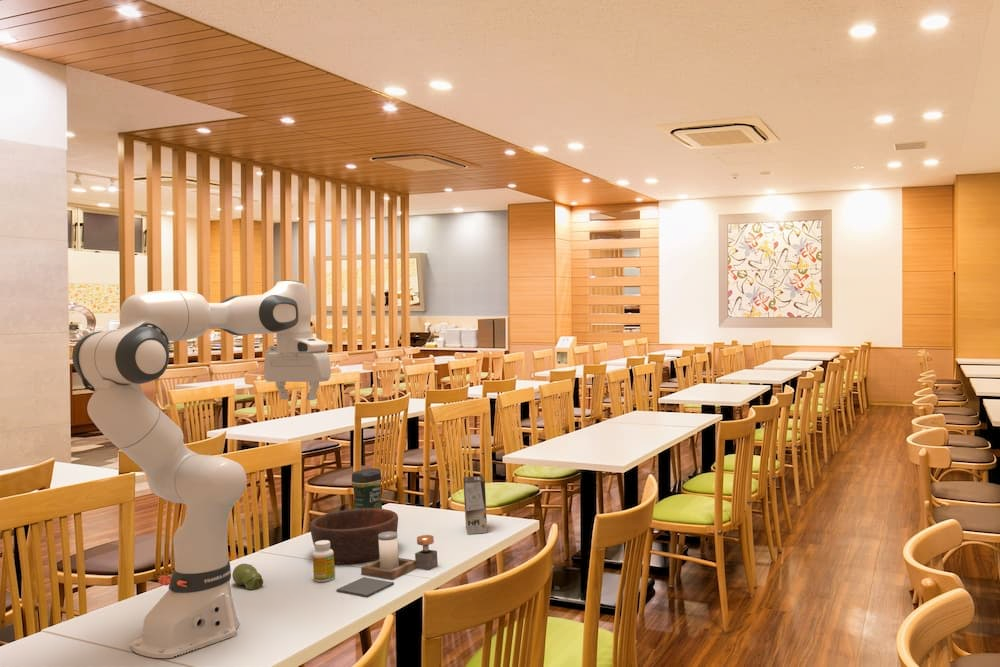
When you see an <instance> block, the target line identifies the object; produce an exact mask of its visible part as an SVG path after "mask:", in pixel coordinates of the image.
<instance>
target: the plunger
mask: <svg viewBox="0 0 1000 667" xmlns="http://www.w3.org/2000/svg"><path fill="white" fill-rule="evenodd" d="M416 543H417V545H419V546H422V550H423V554H428V553H429V550H430V545H433V544H434V543H435V540H434V535H432V534H431V535H430V534H423V535H419V536H417V537H416Z"/></svg>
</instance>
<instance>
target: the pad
mask: <svg viewBox="0 0 1000 667" xmlns="http://www.w3.org/2000/svg"><path fill="white" fill-rule="evenodd" d="M394 585H395V584H394V582H393V581H387V580H382V579H378V578H371V577H361V578H359V579H357V580H354V581H352V582H349V583H347V584H345V585H344V586H340V587H338V588H336V592H337V593H340V594H346V595H352V596H357V597H362V598H369V597H372V596H374V595H375V594H379V593H380V592H381V591H384V590H386V589H388V588H390V587H392V586H394Z"/></svg>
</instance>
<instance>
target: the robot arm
mask: <svg viewBox="0 0 1000 667" xmlns="http://www.w3.org/2000/svg"><path fill="white" fill-rule="evenodd" d="M275 283H276V284H275V285H274V286H273V287H272V288H271V289H269V290H267V291H266V292H264V293H261V294H253V295H252V294H251V295H250V294H249V295H233V296H230V297H228V298H226V299H224V300H222V301H220V302H208V301H207V299H206V298H205V297H204V296H203V295H202V294H200V293H197V292H194V291H193V292H192V291H187V290H178V289H176V290H175V289H171V290H169V289H168V290H167V289H166V290H165V289H164V290H161V289H160V290H153V291H152V290H151V291H146V292H140V293H136V294H132V295H130V296H129V297H127V298H126V299H125V300H124V301H123V303H122V304H121V307H120V309H119V310H120V311H119V325H118V327H117V328H116V329H112V330H105V331H101V330H100V331H96V332H91V333H89V334H87V335H85V336H83V337H81V338H80V339H79V340H78V341H77V342H76V343H75V345H74V347H73V349H72V353H71V357H72V358H71V359H72V363H73V366H74V369H75V371H76V372H77V374H78V376H79V377H80V378H81V382H82V385H83V387H84V388H85V389H86V390H89V391H91V392H94V393H92V395H91V396H90V398H89V400H88V402H87V409H86V410H87V411H86V412H87V414H88V417H89V418H90V419H91V422H93V424H94V425H95V426H96V428H97V429H99V432H100V433H102V435H104V437H105V438H106V439H108V441H109V442H111V444H113V445H114V446H115V447H116V448H117V449H119V450H120V451H121V452H122V453H123V454H125V455H126V456H127V457H128V458H129V459H130V460H131V461H132V462H134V464H136V465H137V466H138V467H139V468H140V469H141V470H142V471H143V473H144V474H145V475H146V477H147V484H148V487H149V489H150V491H151V492H152V493H153V494H154V495H155V496H158V497H159V498H161V499H163V500H166V501H168V502H169V503H175V504H183V505H184V504H185V507H186V508H185V509H186V510H185V514H184V515H185V516H184V519H183V522H182V525H180V526H179V527H178V528H177V529H175V530H176V531H174V534H173V556H174V559H173V560H174V569H173V571H172V574H171V576H169V575H166V574H162V575H159V578H158V584H160V585H164V586H168V589H167V591H166V592H165V593H164V594H163V596H162V597H161V598H160V599H159V600H158V601H157V603H156V604H155V605H154V606H153V607H152V608H151V610H150V611H148V613H147V614H146V615H145V617H144V619H143V625H142V636H141V637H138V638H137V639H135V640H133V641H132V642H131V645H130V648H131V650H132V651H133V652H134V653H136V654H137V655H141V656H143V657H148V658H155V659H171V658H175V657H174V656H176V657H178V656H177V655H179V656H181V655H184V654H186V652H187V653H190V652H192V651H191V650H193V651H195V649H196V650H198V648H199V649H201V648H203V647H207V646H210V645H213V644H215V643H218V642H221V641H224V640H227V639H229V638H232V637H235V636H237V629H238V627H239V626H240V620H239V618H238V616H237V612H236V609H235V606H234V605H235V604H234V601H233V596H232V591H231V583H230V582H231V578H232V573H231V572H232V571H231V563H230V561H229V559H228V558H229V556H228V554H229V553H228V525H229V519H230V515H231V513H232V511H233V507H234V505H235V504H236V503H237V502H238V501H239V500H240V499H241V498H242V496H243V495H244V494H245V493H244V492H245V490H246V487H247V483H248V482H247V480H248V479H247V473H246V471H245V468H244V467H243V465H242V464H240V463H239V462H237V461H235V460H233V459H230V458H228V457H224V456H221V455H208V454H202V453H201V454H200V453H198V452H195V451H193V450H191V449H190V448H188V447H187V445H186V444H185V443H184V438H185V437H184V433H183V430H182V428H181V427H180V426H179V425H178V424H177V423H175V422H174V421H173V420H172V419H171V418H170V417H169V416H168V415H167V414H166V413H165V412H164V411H163V410H161V408H159V407H158V406H157V405H156V404H155V403H154V402H153V401H151V399H149V398H148V397H147V395H146V394H145V393H144V390H143V389H142V384H147V383H150V382H153V381H155V380H157V379H159V378H161V376H162V375H164V373H165V372H166V370H167V369H168V366H169V362H170V347H169V343H170V342H178V341H179V342H180V341H181V342H182V341H189V340H193V339H196V338H200V337H202V336H203V335H205V334H206V332H207V331H208V330H222V331H224V332H227V333H228V334H230V335H233V336H237V337H238V336H239V337H240V336H249V335H265V334H269V335H270V334H275V336H276V338H275V339H276V345H270V346H269V347H268V348H267V349H266V350H265V357H264V362H263V363H264V364H263V365H264V366H263V367H264V368H263V377H264V379H265V381H266V382H268V383H271V382H272V383H274V382H275V387H276V389H277V391H278V393H279V399H280V400H289V399H290V392H289V391H287V389H286V382H287V383H289V382H290V383H292V382H293V383H296V382H297V383H305V382H306V383H308V386H309V387H310V388H309V392H307V393H306V400H307V401H315V400H317V392H318V389H319V387H320V383H322V382H327V381H329V380H330V378H331V374H332V372H331V370H332V369H331V359H330V355H329V353H328V352H327V351H328V350H329V343H328V342H327V341H324V340H322V339H320V338H317V337H315V336H313V329H312V326H311V317H312V307H311V298H310V292H309V290H308V287H307V285H306V284H305V283H303V282H301V281H297V280H290V279H289V280H279V281H277V282H275ZM189 651H190V652H189ZM183 653H184V654H183ZM180 654H181V655H180Z"/></svg>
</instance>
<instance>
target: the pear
mask: <svg viewBox="0 0 1000 667" xmlns="http://www.w3.org/2000/svg"><path fill="white" fill-rule="evenodd" d="M231 577H232V580H233V582H234V583H236V584H237V585H240V586H244V585H245V589H246V590H248V591H253V590H258V589H260V588H263V587H264V586H263V584H264V579H263V578H262V575H261V573H259V572H258V570H257V569H256V567H254V566H253V565H251V564H248V563H240V564H238V565H236V566H235V567H234V569H233V570H232V573H231Z"/></svg>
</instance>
